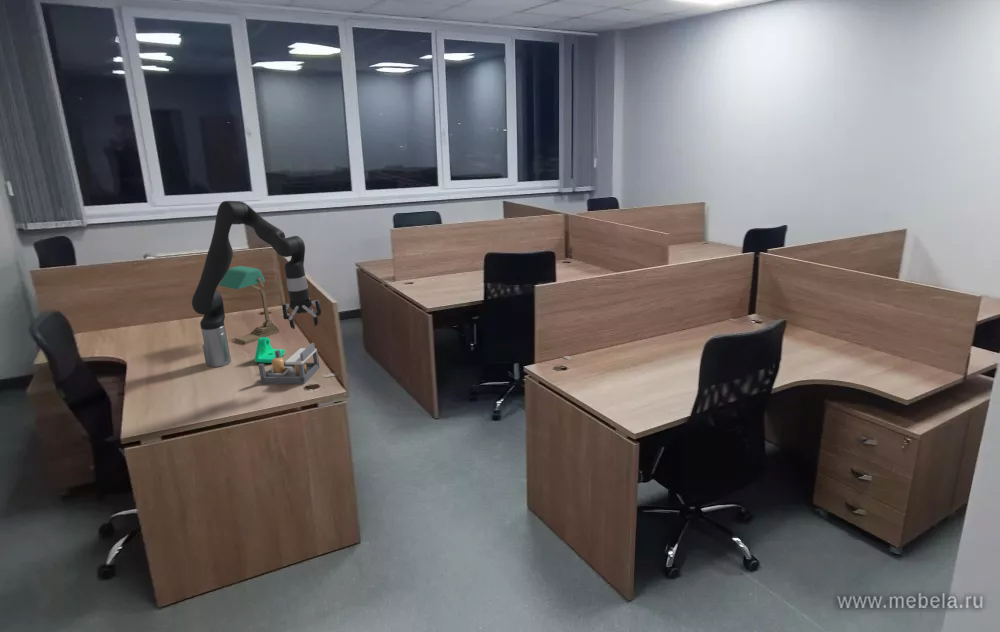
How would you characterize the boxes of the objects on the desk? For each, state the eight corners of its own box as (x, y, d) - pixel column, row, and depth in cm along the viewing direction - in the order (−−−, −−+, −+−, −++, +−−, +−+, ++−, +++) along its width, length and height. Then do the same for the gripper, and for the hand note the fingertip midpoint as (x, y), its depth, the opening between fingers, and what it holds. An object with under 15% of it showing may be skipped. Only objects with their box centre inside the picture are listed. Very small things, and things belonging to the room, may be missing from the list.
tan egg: (271, 375, 240) (269, 361, 238) (276, 370, 244) (274, 357, 242) (282, 375, 240) (280, 361, 238) (286, 370, 244) (284, 357, 242)
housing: (261, 383, 235) (258, 365, 233) (279, 367, 250) (276, 350, 248) (304, 383, 233) (301, 365, 231) (319, 367, 249) (317, 350, 246)
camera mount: (271, 365, 253) (267, 343, 250) (255, 364, 255) (252, 342, 252) (286, 354, 265) (283, 333, 261) (271, 354, 266) (267, 332, 263)
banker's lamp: (284, 333, 292) (273, 265, 281) (247, 346, 275) (235, 274, 264) (264, 328, 300) (253, 261, 289) (227, 340, 284) (214, 271, 273)
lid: (285, 364, 232) (283, 355, 231) (300, 350, 246) (299, 341, 245) (302, 364, 231) (300, 355, 230) (316, 350, 246) (315, 341, 244)
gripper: (317, 283, 233) (323, 322, 237) (280, 287, 230) (287, 326, 235) (315, 288, 225) (322, 327, 230) (277, 292, 223) (284, 332, 228)
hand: (304, 326), depth 233 cm, fingers open, 8 cm apart
